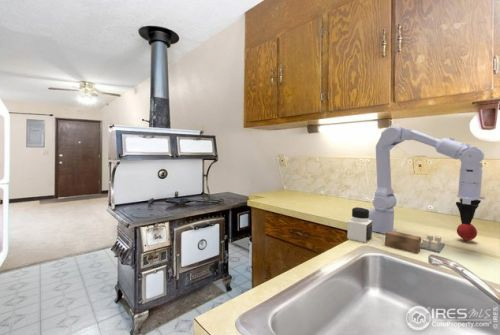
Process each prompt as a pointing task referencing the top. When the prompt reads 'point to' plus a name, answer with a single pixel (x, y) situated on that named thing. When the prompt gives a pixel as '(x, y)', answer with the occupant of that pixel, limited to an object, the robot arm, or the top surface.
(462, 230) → the onion
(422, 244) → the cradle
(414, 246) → the wooden block
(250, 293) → the top surface
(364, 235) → the medicine bottle
